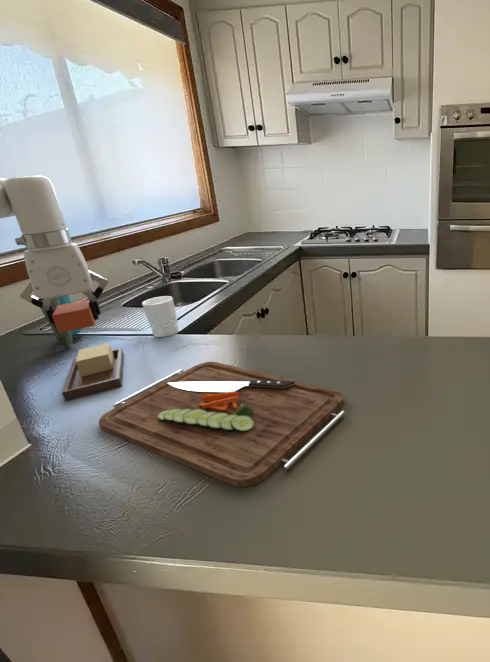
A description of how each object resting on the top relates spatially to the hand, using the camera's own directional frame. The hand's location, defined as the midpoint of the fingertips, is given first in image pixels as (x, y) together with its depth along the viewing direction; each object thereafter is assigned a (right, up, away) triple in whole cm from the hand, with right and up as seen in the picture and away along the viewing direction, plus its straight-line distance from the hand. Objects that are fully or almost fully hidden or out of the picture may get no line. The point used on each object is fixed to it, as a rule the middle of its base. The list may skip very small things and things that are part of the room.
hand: (77, 321), depth 93 cm
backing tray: (0, -13, +7) cm, 14 cm away
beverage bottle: (-24, -5, +32) cm, 41 cm away
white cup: (+5, -3, +30) cm, 31 cm away
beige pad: (-2, -11, +10) cm, 15 cm away
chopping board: (+36, -18, -12) cm, 42 cm away
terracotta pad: (0, -1, 0) cm, 1 cm away
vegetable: (-20, -8, +24) cm, 32 cm away
